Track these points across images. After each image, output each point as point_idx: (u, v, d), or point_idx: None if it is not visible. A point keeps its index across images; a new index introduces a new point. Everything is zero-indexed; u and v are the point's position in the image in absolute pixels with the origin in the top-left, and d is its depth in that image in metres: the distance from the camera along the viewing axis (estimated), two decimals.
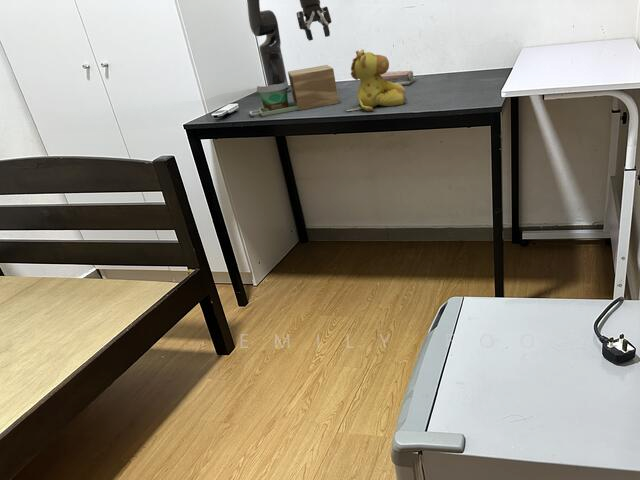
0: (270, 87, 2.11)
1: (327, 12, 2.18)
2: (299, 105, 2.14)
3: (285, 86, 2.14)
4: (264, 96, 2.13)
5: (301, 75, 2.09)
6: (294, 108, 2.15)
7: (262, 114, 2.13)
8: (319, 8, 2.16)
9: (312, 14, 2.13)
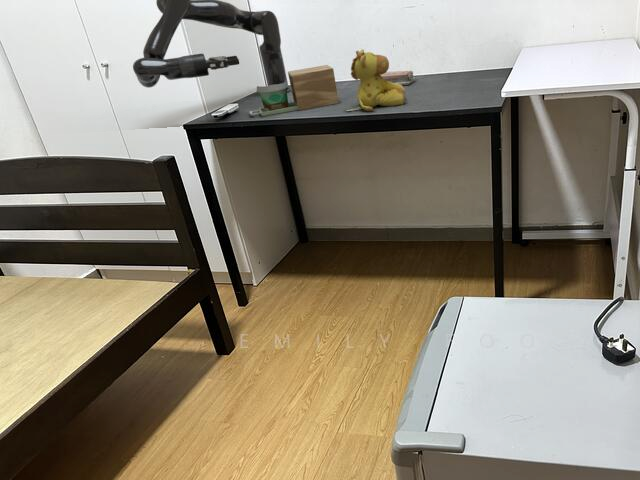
0: (270, 87, 2.11)
1: None
2: (299, 105, 2.14)
3: (285, 86, 2.14)
4: (264, 96, 2.13)
5: (301, 75, 2.09)
6: (294, 108, 2.15)
7: (262, 114, 2.13)
8: None
9: None
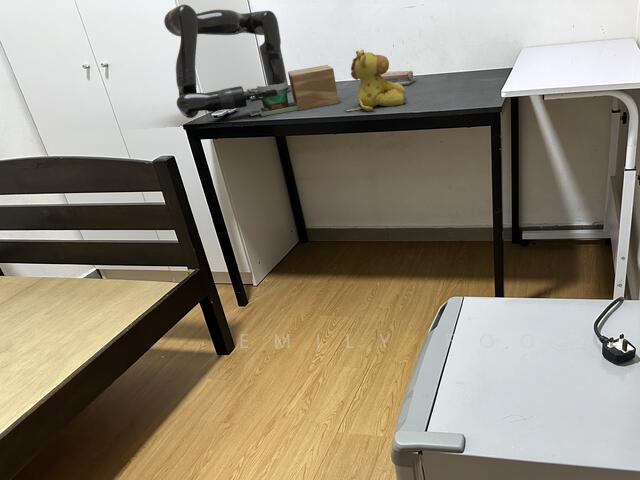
0: (270, 87, 2.11)
1: None
2: (299, 105, 2.14)
3: (285, 86, 2.14)
4: None
5: (301, 75, 2.09)
6: (294, 108, 2.15)
7: (262, 114, 2.13)
8: (249, 99, 2.11)
9: None
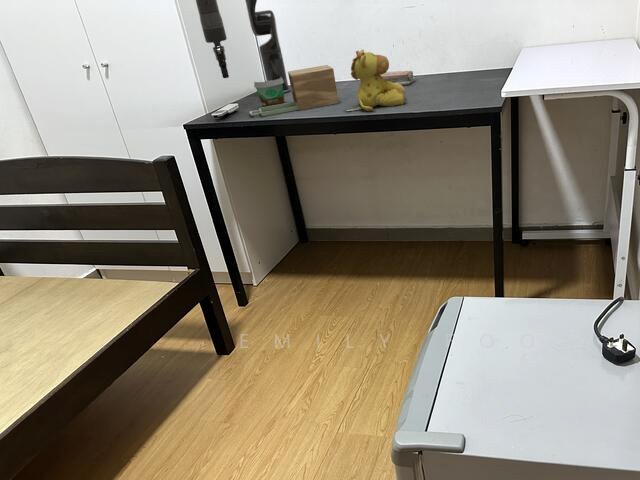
0: (267, 83, 2.21)
1: (216, 55, 1.98)
2: (299, 105, 2.14)
3: (281, 82, 2.24)
4: (261, 91, 2.23)
5: (301, 75, 2.09)
6: (294, 108, 2.15)
7: (262, 114, 2.13)
8: None
9: None
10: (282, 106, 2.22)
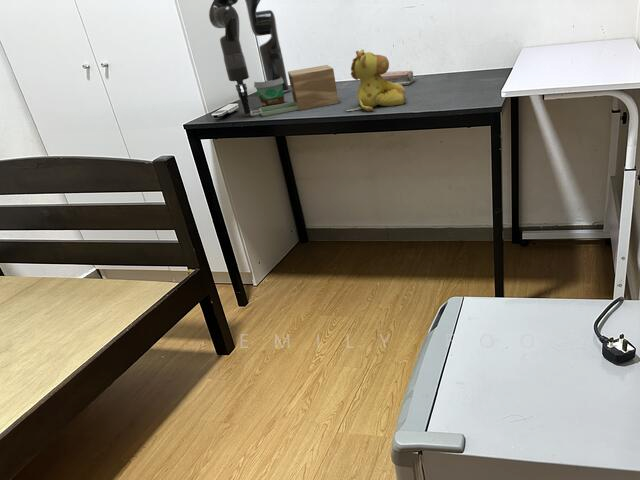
0: (267, 83, 2.21)
1: (240, 95, 2.08)
2: (299, 105, 2.14)
3: (281, 82, 2.24)
4: (261, 91, 2.23)
5: (301, 75, 2.09)
6: (294, 108, 2.15)
7: (262, 114, 2.13)
8: (237, 84, 2.07)
9: None
10: (282, 106, 2.22)
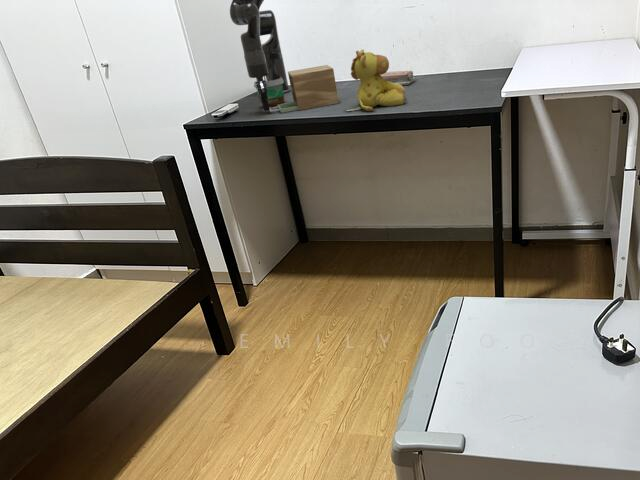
0: (267, 83, 2.21)
1: (260, 92, 2.09)
2: (299, 105, 2.14)
3: (281, 82, 2.24)
4: None
5: (301, 75, 2.09)
6: None
7: (281, 110, 2.14)
8: (257, 81, 2.08)
9: (255, 84, 2.13)
10: None
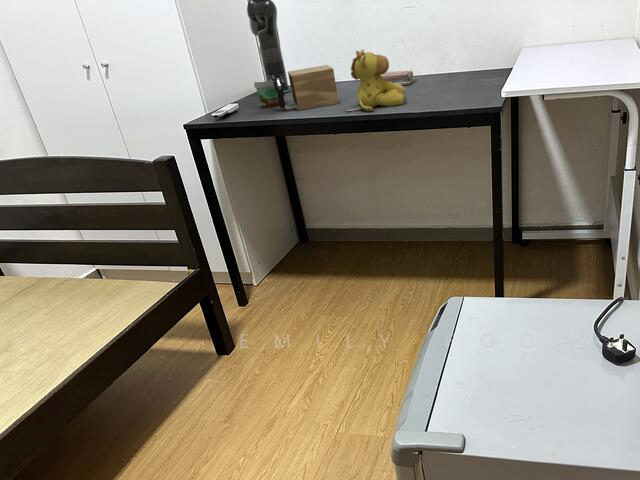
0: (267, 83, 2.21)
1: (276, 89, 2.10)
2: (299, 105, 2.14)
3: None
4: (261, 91, 2.23)
5: (301, 75, 2.09)
6: None
7: (297, 108, 2.15)
8: (274, 78, 2.09)
9: None
10: None
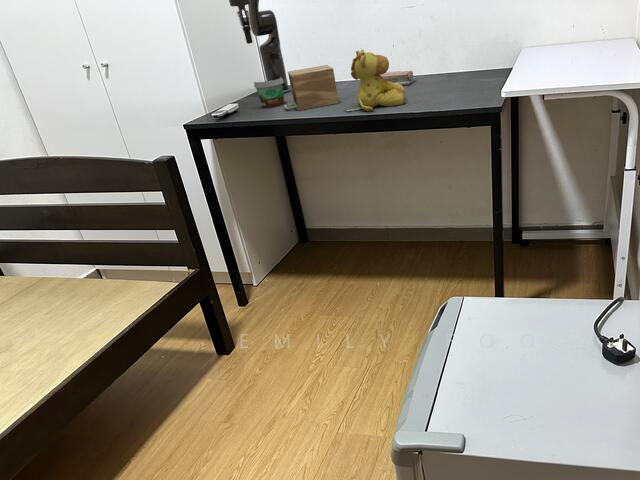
0: (267, 83, 2.21)
1: (242, 21, 1.99)
2: (299, 105, 2.14)
3: (281, 82, 2.24)
4: (261, 91, 2.23)
5: (301, 75, 2.09)
6: None
7: None
8: (239, 10, 1.98)
9: None
10: None
